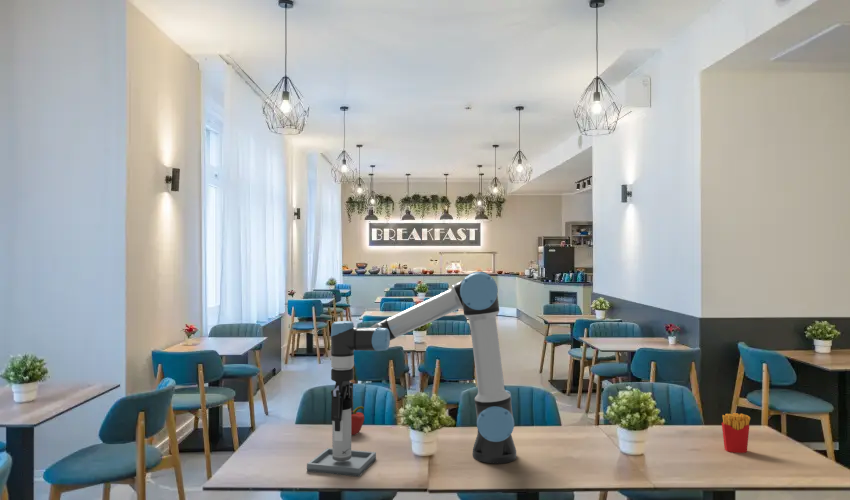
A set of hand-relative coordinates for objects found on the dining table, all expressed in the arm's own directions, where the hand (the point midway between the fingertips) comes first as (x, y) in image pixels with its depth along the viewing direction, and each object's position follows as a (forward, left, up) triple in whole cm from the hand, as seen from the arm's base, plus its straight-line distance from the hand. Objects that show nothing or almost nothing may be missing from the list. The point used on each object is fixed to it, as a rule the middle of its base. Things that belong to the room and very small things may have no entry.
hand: (342, 437), depth 192 cm
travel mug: (0, 0, -7) cm, 7 cm away
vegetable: (+10, -34, -10) cm, 37 cm away
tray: (0, 0, -9) cm, 9 cm away
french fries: (-131, -48, -10) cm, 140 cm away
